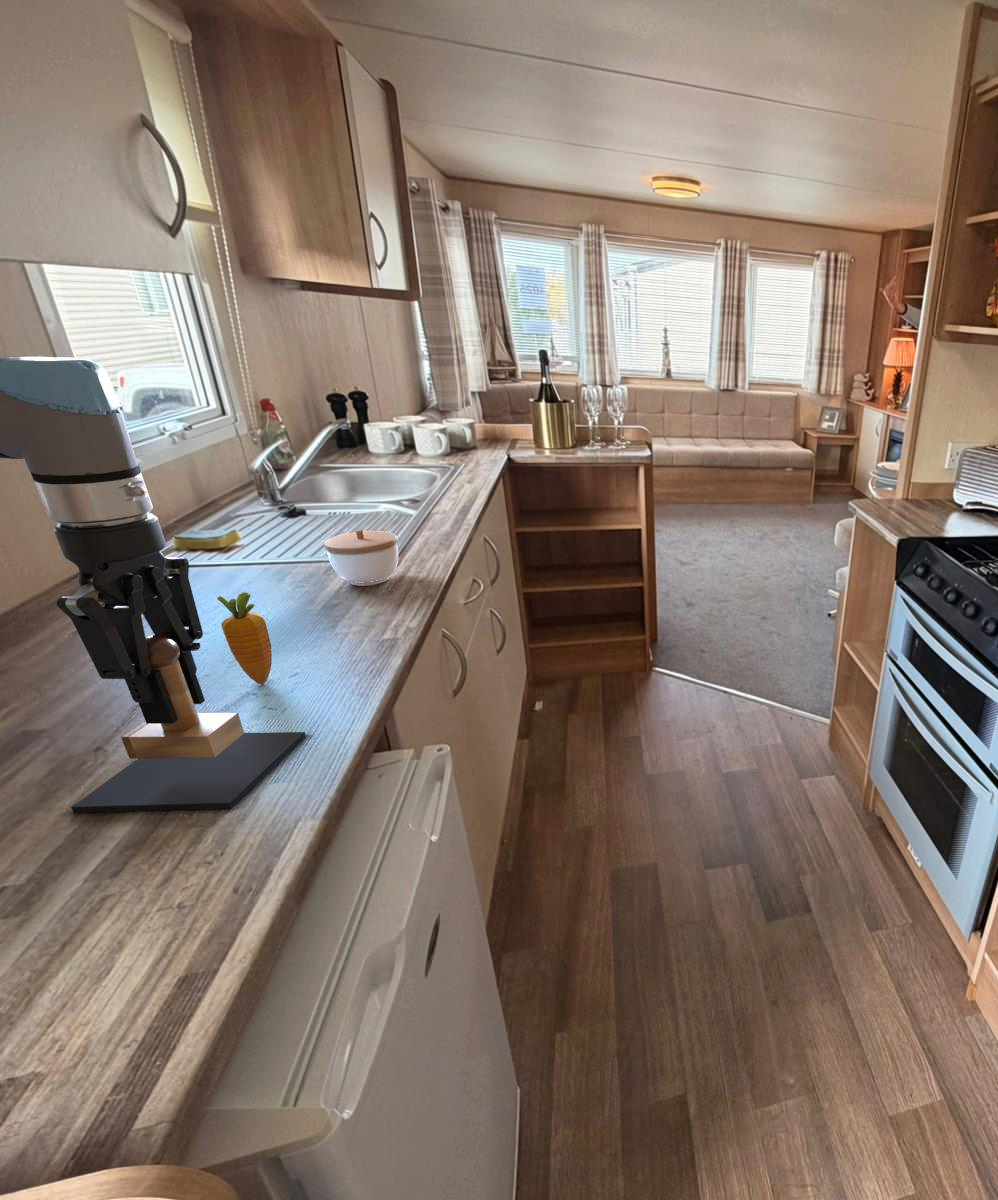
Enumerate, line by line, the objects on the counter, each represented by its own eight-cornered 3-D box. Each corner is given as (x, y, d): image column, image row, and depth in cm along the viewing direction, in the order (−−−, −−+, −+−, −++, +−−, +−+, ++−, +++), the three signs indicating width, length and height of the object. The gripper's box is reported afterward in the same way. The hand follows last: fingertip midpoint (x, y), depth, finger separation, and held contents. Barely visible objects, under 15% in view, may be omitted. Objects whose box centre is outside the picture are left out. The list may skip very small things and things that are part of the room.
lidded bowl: (329, 576, 136) (317, 527, 132) (396, 566, 144) (387, 519, 140) (339, 595, 127) (326, 543, 123) (410, 582, 135) (400, 533, 131)
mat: (73, 812, 70) (70, 807, 70) (174, 738, 83) (172, 733, 83) (231, 808, 72) (229, 803, 72) (306, 736, 85) (304, 731, 85)
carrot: (232, 688, 95) (201, 596, 89) (267, 673, 99) (239, 584, 93) (257, 695, 93) (227, 601, 88) (291, 679, 98) (264, 589, 92)
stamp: (129, 758, 73) (82, 647, 68) (164, 733, 78) (123, 627, 72) (215, 757, 74) (176, 647, 69) (244, 733, 79) (210, 627, 73)
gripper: (70, 542, 58) (154, 754, 67) (205, 499, 73) (259, 676, 82) (-24, 540, 57) (74, 755, 66) (133, 497, 72) (195, 676, 81)
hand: (176, 711), depth 74 cm, fingers closed on stamp, 3 cm apart
